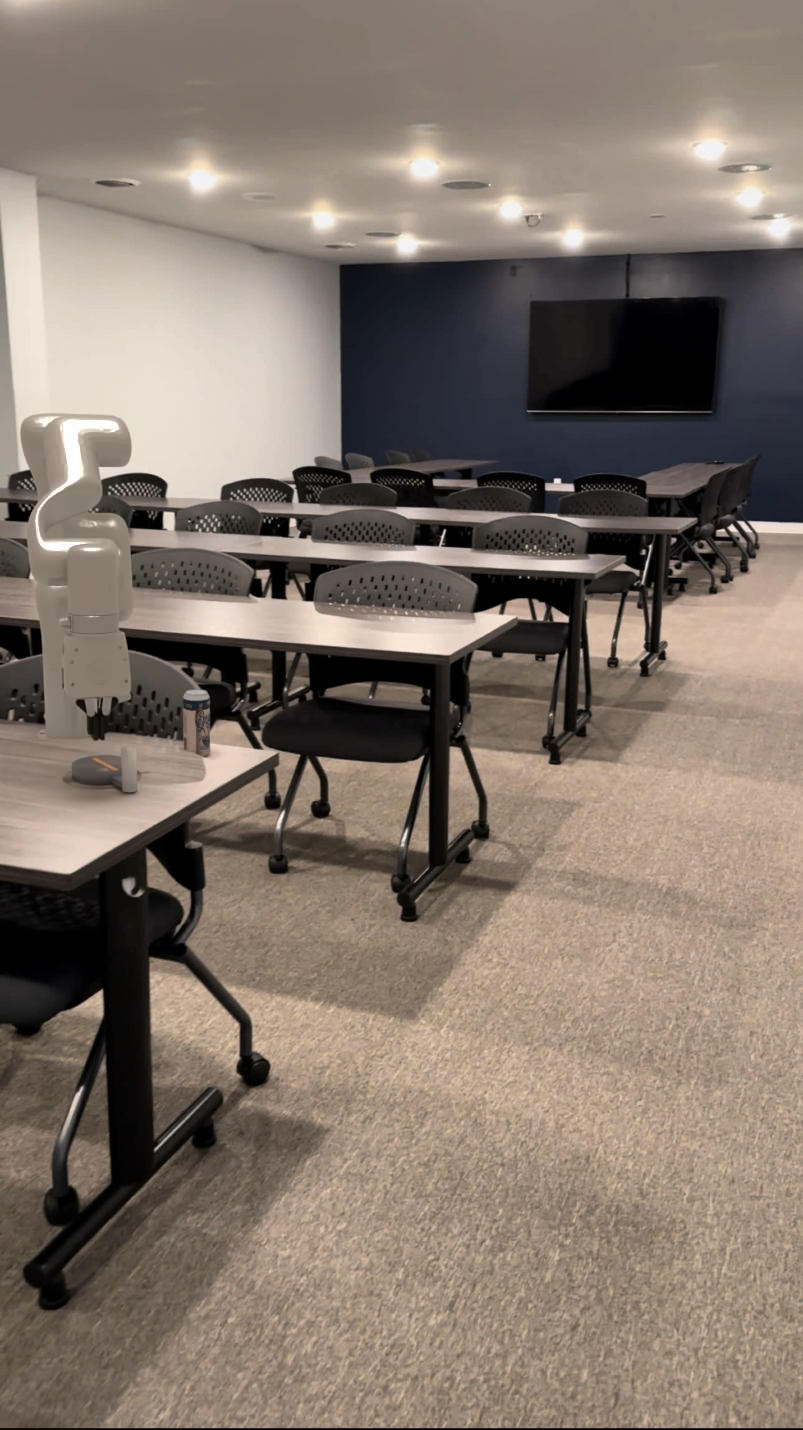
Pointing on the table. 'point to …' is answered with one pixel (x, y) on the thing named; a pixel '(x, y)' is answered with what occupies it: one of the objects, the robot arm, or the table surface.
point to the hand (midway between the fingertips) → (97, 738)
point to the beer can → (196, 721)
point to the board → (70, 781)
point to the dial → (108, 769)
